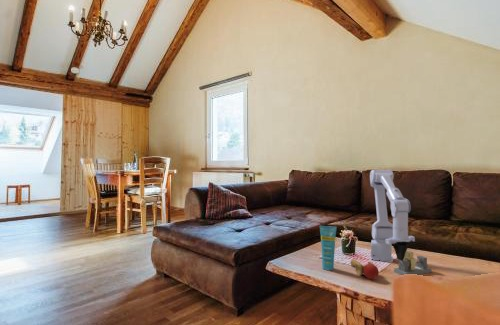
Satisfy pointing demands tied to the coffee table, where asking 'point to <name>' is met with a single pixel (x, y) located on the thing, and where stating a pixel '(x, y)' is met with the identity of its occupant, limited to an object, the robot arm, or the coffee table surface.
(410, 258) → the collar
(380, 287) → the coffee table surface
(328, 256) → the tube
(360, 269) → the kendama
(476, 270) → the coffee table surface
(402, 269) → the pipe rig
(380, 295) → the coffee table surface
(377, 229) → the robot arm
